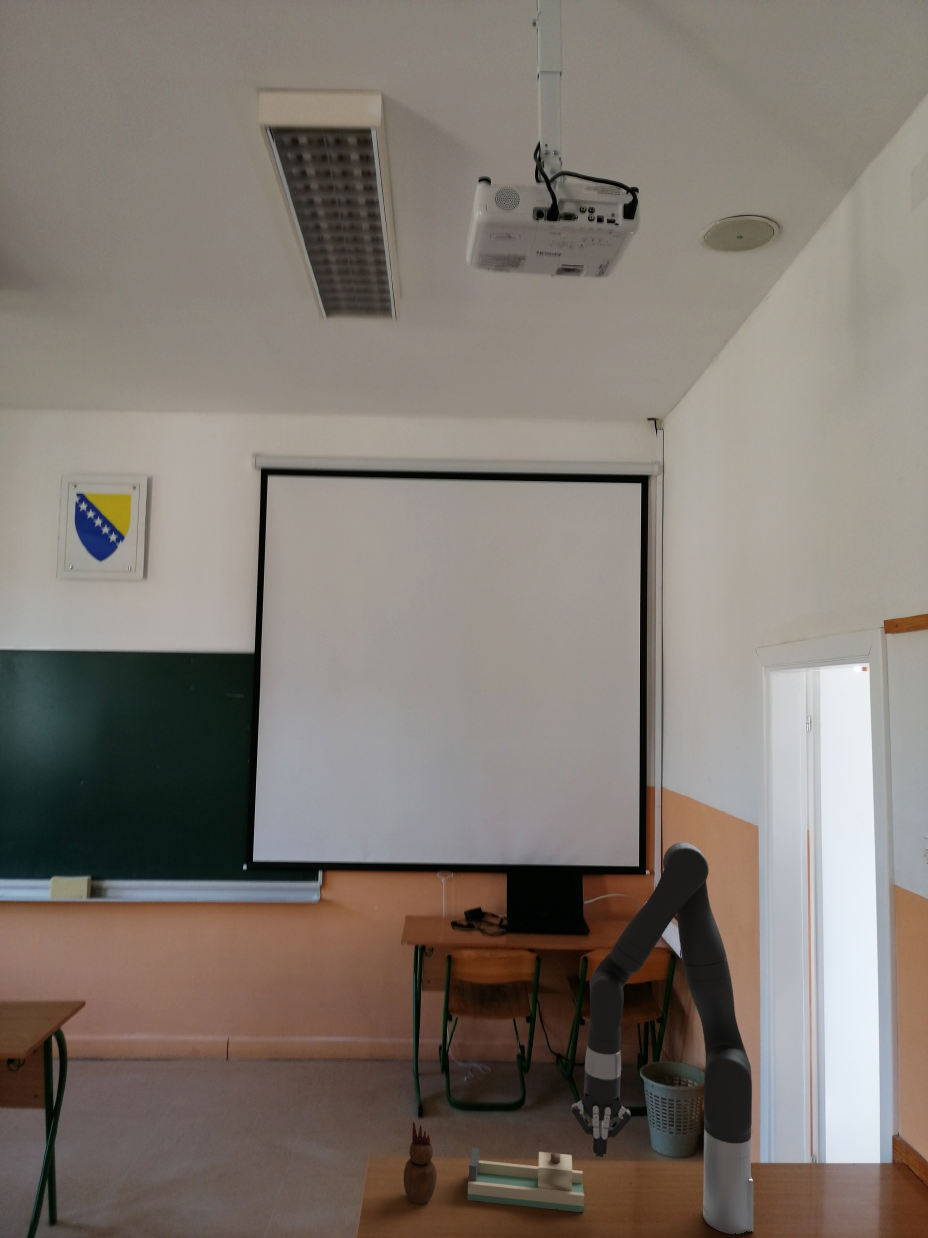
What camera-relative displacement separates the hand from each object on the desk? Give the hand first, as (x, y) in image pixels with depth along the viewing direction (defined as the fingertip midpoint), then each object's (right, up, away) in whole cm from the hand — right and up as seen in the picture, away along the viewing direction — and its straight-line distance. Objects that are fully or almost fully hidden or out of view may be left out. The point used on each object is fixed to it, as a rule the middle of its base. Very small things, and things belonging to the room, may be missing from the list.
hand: (599, 1155), depth 173 cm
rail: (-15, -9, +1) cm, 18 cm away
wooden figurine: (-38, -8, -3) cm, 39 cm away
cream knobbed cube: (-9, -7, 0) cm, 12 cm away
